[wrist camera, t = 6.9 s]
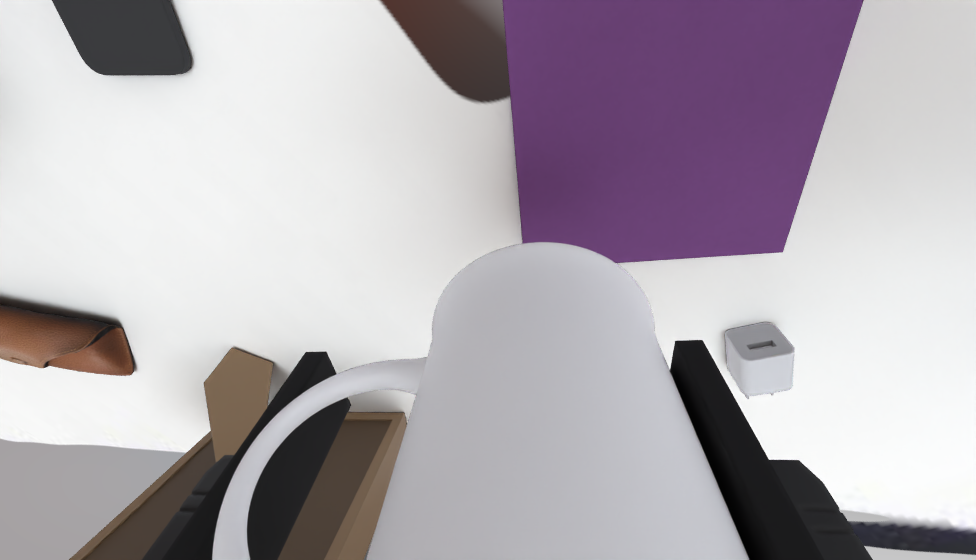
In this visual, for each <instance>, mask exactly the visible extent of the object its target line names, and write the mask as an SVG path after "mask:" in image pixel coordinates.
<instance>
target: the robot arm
mask: <svg viewBox="0 0 976 560" xmlns="http://www.w3.org/2000/svg"><path fill="white" fill-rule="evenodd" d="M670 372H671V375H672V377H673V380H674V382H675V384H676V387H677V389H678V391H679V394H680V396H681V398H682V401H683V403H684V406H685V408H686V410H687V413H688V415H689V417H690V420H691V422H692V425H693V427H694V429H695V432H696V434H697V436H698V439H699V441H700V443H701V446H702V448H703V451H704V453H705V455H706V458H707V460H708V462H709V465H710V467H711V469H712V472H713V474H714V477H715V479H716V481H717V484H718V486H719V488H720V491H721V493H722V495H723V498H724V500H725V503H726V505H727V507H728V510H729V512H730V514H731V517H732V519H733V522H734V524H735V526H736V529H737V531H738V533H739V536H740V538H741V540H742V543H743V545H744V548H745V550H746V552H747V555H748V557H749V559H750V560H873V559H872V558H871V556H870V555H869V553H868V552H867V550H866V549H865V547H864V546H863V544H862V542H861V541H860V539H859V538H858V536H857V535H855V534H854V533H853V529H852V527H851V525H850V524H849V522H848V521H847V519H846V518H845V516H844V515H843V513H841V512H840V511H839V507H838V505H837V504H836V502H835V501H834V499H833V498H832V496H831V494H830V493H829V491H828V490H827V488H826V487H825V485H824V484H823V482H822V481H821V480H820V479H819V478H817V477H816V476H815V475H814V474H813V473H812V472H811V471H810V470H809V469H808V468H807V467H805V466H804V465H803V464H802V463H801V462H800V461H799V460H769V459H768V457H767V456H766V454H765V452H764V450H763V448H762V447H761V445H760V443H759V441H758V439H757V438H756V436H755V434H754V432H753V430H752V429H751V427H750V425H749V423H748V421H747V420H746V418H745V416H744V414H743V412H742V411H741V409H740V407H739V405H738V403H737V402H736V400H735V398H734V396H733V394H732V393H731V391H730V389H729V387H728V385H727V384H726V382H725V380H724V378H723V376H722V375H721V373H720V371H719V369H718V367H717V366H716V364H715V362H714V360H713V358H712V357H711V355H710V353H709V351H708V349H707V348H706V346H705V344H704V342H703V340H689V341H675V346H674V351H673V357H672V363H671V368H670ZM334 375H336V372H335V369H334V367H333V365H332V363H331V361H330V359H329V357H328V354H327V352H306V353H305V354H304V355H303V357H302V358H301V360H300V361H299V363H298V364H297V366H296V367H295V368H294V370H293V371H292V373H291V374H290V376H289V377H288V378H287V380H286V381H285V383H284V384H283V386H282V387H281V389H280V390H279V391H278V393H277V394H276V396H275V397H274V399H273V400H272V401H271V403H270V404H269V406H268V407H267V409H266V410H265V412H264V413H263V414H262V416H261V417H260V419H259V420H258V422H257V423H256V424H255V426H254V427H253V429H252V430H251V432H250V433H249V435H248V436H247V437H246V439H245V440H244V442H243V443H242V445H241V446H240V447H239V449H238V450H237V452H236V453H235V455H224V456H223V457H222V458H221V459H220V460H219V461H217V462H216V463H215V464H214V465H213V466H212V467H211V468H210V469H209V470H207V471H206V472H205V474H204V475H203V477H202V478H201V479H200V481H199V482H198V483H197V485H196V486H195V487H194V489H193V490H192V494H191V495H190V496H188V497H187V498H186V500H185V501H184V502H183V504H182V505H181V507H180V510H179V512H176V513H175V515H174V516H173V517H172V519H171V520H170V522H169V523H168V524H167V526H166V527H165V528H164V530H163V531H162V533H161V534H160V535H159V537H158V538H157V539H156V541H155V542H154V543H153V545H152V546H151V548H150V549H149V550H148V552H147V553H146V554H145V556H144V557H143V558H142V560H212V554H213V544H214V536H215V530H216V525H217V521H218V517H219V513H220V509H221V506H222V503H223V500H224V497H225V494H226V491H227V489H228V486H229V484H230V482H231V479H232V477H233V475H234V473H235V471H236V469H237V467H238V465H239V463H240V462H241V460H242V458H243V457H244V455H245V453H246V452H247V450H248V449H249V447H250V446H251V444H252V443H253V441H254V440H255V439H256V437H257V436H258V435H259V434H260V432H261V431H262V430H263V429H264V428H265V426H266V425H267V424H268V423H269V422H270V421H271V420H272V419H273V418H274V417H275V416H276V415H277V414H278V413H279V412H280V411H281V410H282V409H283V408H284V407H286V406H287V405H288V404H289V403H290V402H292V401H293V400H294V399H295V398H297V397H298V396H300V395H301V394H302V393H304V392H305V391H307V390H308V389H310V388H311V387H313V386H315V385H317V384H318V383H320V382H322V381H324V380H326V379H328V378H330V377H332V376H334ZM350 406H351V404H350V402H349V400H348V397H347V398H344V399H342V400H339V401H337V402H335V403H332V404H330V405H328V406H327V407H325V408H323V409H321V410H320V411H318V412H316V413H315V414H313V415H312V416H310V417H309V418H308V419H306V420H305V421H304V422H302V423H301V424H300V425H299V426H298V427H297V428H295V429H294V430H293V431H292V432H291V433H290V434H289V435H288V436H287V437H286V438H285V439H284V441H283V442H282V443H281V444H280V445H279V447H278V448H277V449H276V450H275V452H274V453H273V455H272V456H271V457H270V459H269V461H268V462H267V464H266V465H265V467H264V469H263V471H262V473H261V475H260V477H259V479H258V481H257V484H256V486H255V489H254V492H253V495H252V498H251V502H250V507H249V512H248V519H247V544H248V551H249V556H250V560H278V557H279V555H280V553H281V551H282V549H283V547H284V545H285V543H286V541H287V539H288V536H289V534H290V532H291V530H292V528H293V526H294V524H295V522H296V520H297V518H298V515H299V513H300V511H301V509H302V507H303V505H304V503H305V501H306V499H307V497H308V494H309V492H310V490H311V488H312V486H313V484H314V482H315V480H316V478H317V476H318V473H319V471H320V469H321V467H322V465H323V463H324V461H325V459H326V457H327V455H328V452H329V450H330V448H331V446H332V444H333V442H334V440H335V438H336V436H337V434H338V431H339V429H340V427H341V425H342V423H343V421H344V419H345V417H346V415H347V413H348V410H349V408H350Z"/></svg>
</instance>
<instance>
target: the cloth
mask: <svg viewBox="0 0 976 560" xmlns="http://www.w3.org/2000/svg"><path fill="white" fill-rule="evenodd" d="M862 3H863V0H503V11H504V23H505V36H506V47H507V60H508V72H509V83H510V96H511V108H512V120H513V132H514V144H515V156H516V168H517V180H518V192H519V204H520V216H521V228H522V240H523V244H524V243H534V242H553V243H563V244H569V245H574V246H578V247H582V248H585V249H588V250H591V251H594V252H596V253H598V254H601V255H603V256H605V257H606V258H608V259H610V260H612V261H613V262H615V263H623V262H638V261H654V260H669V259H685V258H700V257H716V256H731V255H747V254H762V253H777V252H783V249H784V246H785V243H786V240H787V237H788V234H789V231H790V228H791V224H792V221H793V218H794V215H795V212H796V209H797V206H798V203H799V200H800V196H801V193H802V190H803V187H804V184H805V181H806V178H807V175H808V171H809V168H810V165H811V162H812V159H813V156H814V153H815V150H816V147H817V143H818V140H819V137H820V134H821V131H822V128H823V125H824V122H825V119H826V115H827V112H828V109H829V106H830V103H831V100H832V97H833V94H834V90H835V87H836V84H837V81H838V78H839V75H840V72H841V69H842V66H843V62H844V59H845V56H846V53H847V50H848V47H849V44H850V41H851V38H852V34H853V31H854V28H855V25H856V22H857V19H858V16H859V13H860V9H861V6H862Z"/></svg>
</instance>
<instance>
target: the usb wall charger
mask: <svg viewBox="0 0 976 560" xmlns="http://www.w3.org/2000/svg"><path fill="white" fill-rule="evenodd" d="M725 340H726V355H727V369H728V371H729V372H730V374H731V376H732V377H733V379H734V381H735V382H736V384H737V386H738V387H739V389H740V391H741V392H742V393H743V394H745V396H746V398H747V399H749V396H755V395H762V394H768V393H771V395H773V393H774V392H780V391H786V390H790V389H791V388H792V386H793V367H794V347H793V345H792V344H791V343H790V342H789V341H788V340H787V338H786V337H785V336H784V335H783V334H782V332H781V331H780V330H779V329H778V328H777V327H776V326H775V325H774V324H772V323H767V322H764V323H759V324H754V325H749V326H744V327H739V328H734V329H730V330H727V331H726V333H725Z"/></svg>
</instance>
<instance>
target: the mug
mask: <svg viewBox="0 0 976 560" xmlns="http://www.w3.org/2000/svg"><path fill="white" fill-rule="evenodd" d="M376 390H400V391H405V392H409V393H412V394H415V395H416V397H415V400H414V404H413V407H412V410H411V413H410V417H409V420H408V423H407V427H406V430H405V433H404V437H403V440H402V443H401V447H400V450H399V453H398V456H397V460H396V463H395V466H394V470H393V473H392V476H391V480H390V483H389V486H388V490H387V493H386V496H385V499H384V503H383V506H382V509H381V513H380V516H379V519H378V523H377V526H376V529H375V533H374V536H373V539H372V543H371V546H370V549H369V552H368V556H367V559H366V560H750V559H749V557H748V555H747V552H746V550H745V548H744V545H743V543H742V540H741V538H740V536H739V533H738V531H737V529H736V526H735V524H734V522H733V519H732V517H731V514H730V512H729V510H728V507H727V505H726V503H725V500H724V498H723V495H722V493H721V491H720V488H719V486H718V484H717V481H716V479H715V477H714V474H713V472H712V469H711V467H710V465H709V462H708V460H707V458H706V455H705V453H704V451H703V448H702V446H701V443H700V441H699V439H698V436H697V434H696V432H695V429H694V427H693V425H692V422H691V420H690V417H689V415H688V413H687V410H686V408H685V406H684V403H683V401H682V398H681V396H680V394H679V391H678V389H677V387H676V384H675V382H674V380H673V377H672V375H671V372H670V370H669V368H668V365H667V363H666V360H665V358H664V356H663V353H662V351H661V348H660V346H659V343H658V341H657V338H656V335H655V327H654V318H653V313H652V310H651V307H650V304H649V301H648V299H647V297H646V295H645V293H644V292H643V290H642V289H641V287H640V286H639V284H638V283H637V282H636V281H635V279H634V278H633V277H632V276H631V275H630V274H629V273H628V272H627V271H625V270H624V269H623V268H622V267H620V266H619V265H618V264H616V263H615V262H613V261H612V260H610V259H608V258H606V257H605V256H603V255H601V254H598V253H596V252H594V251H591V250H588V249H585V248H582V247H578V246H574V245H569V244H563V243H553V242H534V243H524V244H518V245H513V246H509V247H505V248H502V249H499V250H496V251H493V252H491V253H488V254H486V255H484V256H482V257H480V258H478V259H477V260H475V261H473V262H472V263H470V264H469V265H467V266H466V267H465V268H464V269H462V270H461V271H460V272H459V273H458V274H457V275H456V276H455V277H454V278H453V279H452V280H451V281H450V282H449V284H448V285H447V286H446V288H445V289H444V291H443V293H442V294H441V296H440V298H439V300H438V303H437V305H436V308H435V312H434V316H433V322H432V342H431V346H430V350H429V353H428V357H424V358H418V359H400V360H388V361H381V362H375V363H370V364H366V365H362V366H359V367H355V368H352V369H349V370H346V371H344V372H341V373H339V374H336V375H334V376H332V377H330V378H328V379H326V380H324V381H322V382H320V383H318V384H317V385H315V386H313V387H311V388H310V389H308V390H307V391H305V392H304V393H302V394H301V395H300V396H298V397H297V398H295V399H294V400H293V401H292V402H290V403H289V404H288V405H287V406H286V407H284V408H283V409H282V410H281V411H280V412H279V413H278V414H277V415H276V416H275V417H274V418H273V419H272V420H271V421H270V422H269V423H268V424H267V425H266V426H265V428H264V429H263V430H262V431H261V432H260V434H259V435H258V436H257V437H256V439H255V440H254V441H253V443H252V444H251V446H250V447H249V449H248V450H247V452H246V453H245V455H244V457H243V458H242V460H241V462H240V463H239V465H238V467H237V469H236V471H235V473H234V475H233V477H232V479H231V482H230V484H229V486H228V489H227V491H226V494H225V497H224V500H223V503H222V506H221V509H220V513H219V517H218V521H217V525H216V530H215V536H214V544H213V554H212V560H250V556H249V551H248V544H247V519H248V512H249V507H250V502H251V498H252V495H253V492H254V489H255V486H256V484H257V481H258V479H259V477H260V475H261V473H262V471H263V469H264V467H265V465H266V464H267V462H268V461H269V459H270V457H271V456H272V455H273V453H274V452H275V450H276V449H277V448H278V447H279V445H280V444H281V443H282V442H283V441H284V439H285V438H286V437H287V436H288V435H289V434H290V433H291V432H292V431H293V430H294V429H295V428H297V427H298V426H299V425H300V424H301V423H302V422H304V421H305V420H306V419H308V418H309V417H310V416H312V415H313V414H315V413H316V412H318V411H320V410H321V409H323V408H325V407H327V406H328V405H330V404H332V403H335V402H337V401H339V400H342V399H344V398H347V397H350V396H353V395H356V394H360V393H364V392H369V391H376Z"/></svg>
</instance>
